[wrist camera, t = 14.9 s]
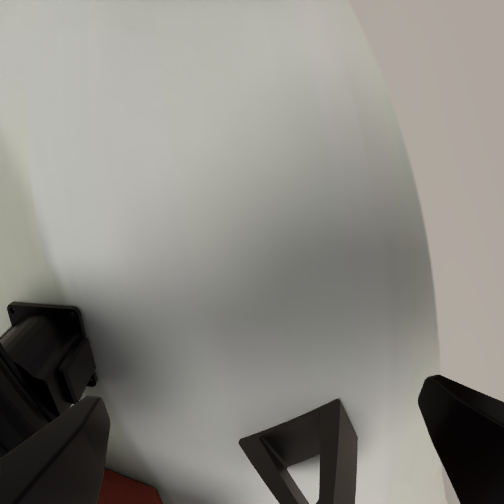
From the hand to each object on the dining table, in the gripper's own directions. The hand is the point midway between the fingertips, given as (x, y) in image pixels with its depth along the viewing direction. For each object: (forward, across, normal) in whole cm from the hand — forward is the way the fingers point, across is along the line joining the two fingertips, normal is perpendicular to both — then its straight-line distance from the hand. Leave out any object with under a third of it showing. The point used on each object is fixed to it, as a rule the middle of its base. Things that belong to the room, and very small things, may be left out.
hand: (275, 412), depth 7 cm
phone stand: (+12, -5, +16) cm, 21 cm away
